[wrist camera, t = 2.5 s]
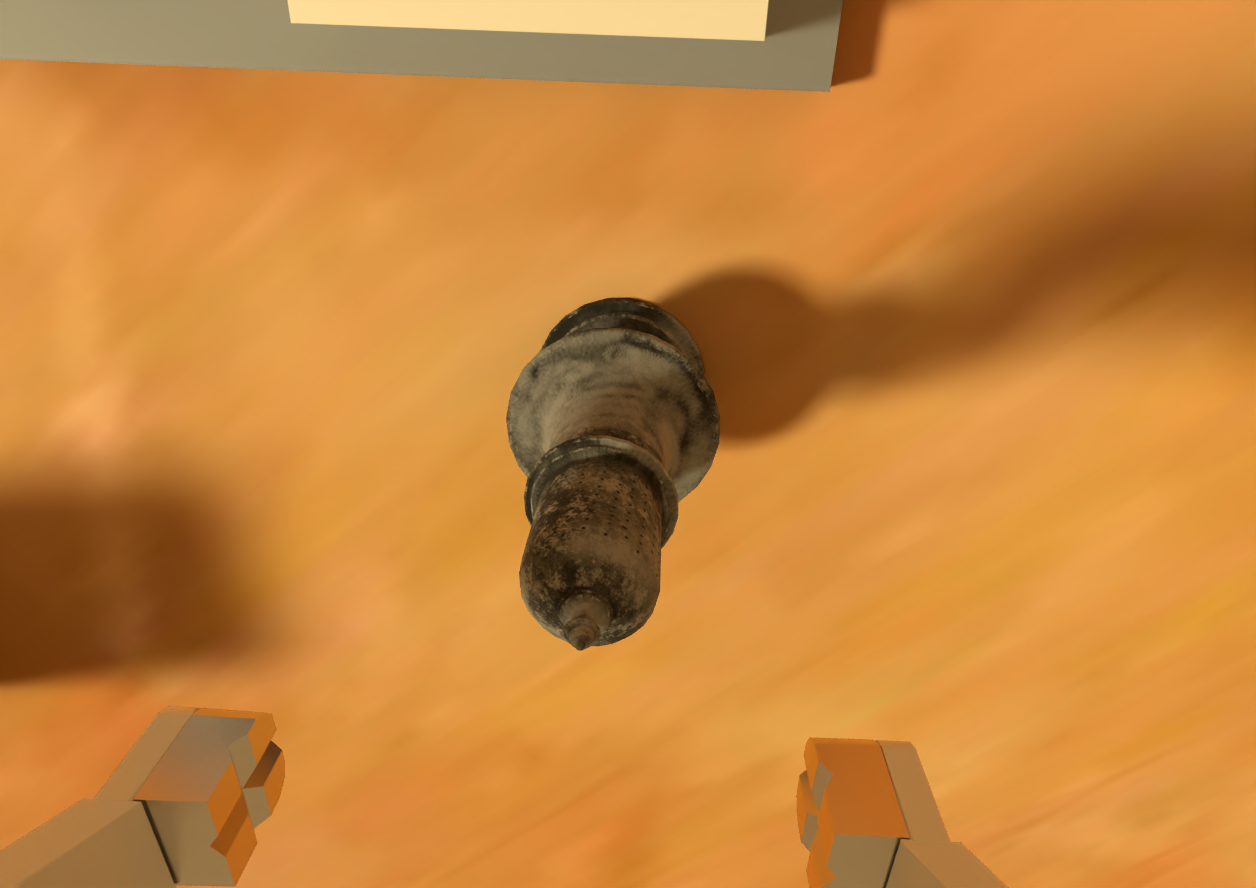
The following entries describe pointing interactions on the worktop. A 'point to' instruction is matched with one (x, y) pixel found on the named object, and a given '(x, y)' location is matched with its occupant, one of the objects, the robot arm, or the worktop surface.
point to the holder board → (448, 38)
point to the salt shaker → (607, 463)
